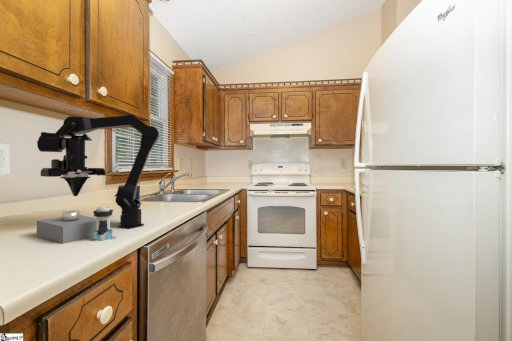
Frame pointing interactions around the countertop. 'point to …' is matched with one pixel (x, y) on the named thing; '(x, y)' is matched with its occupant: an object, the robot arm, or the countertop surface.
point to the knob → (70, 215)
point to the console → (67, 229)
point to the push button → (103, 224)
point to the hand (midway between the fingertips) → (75, 196)
